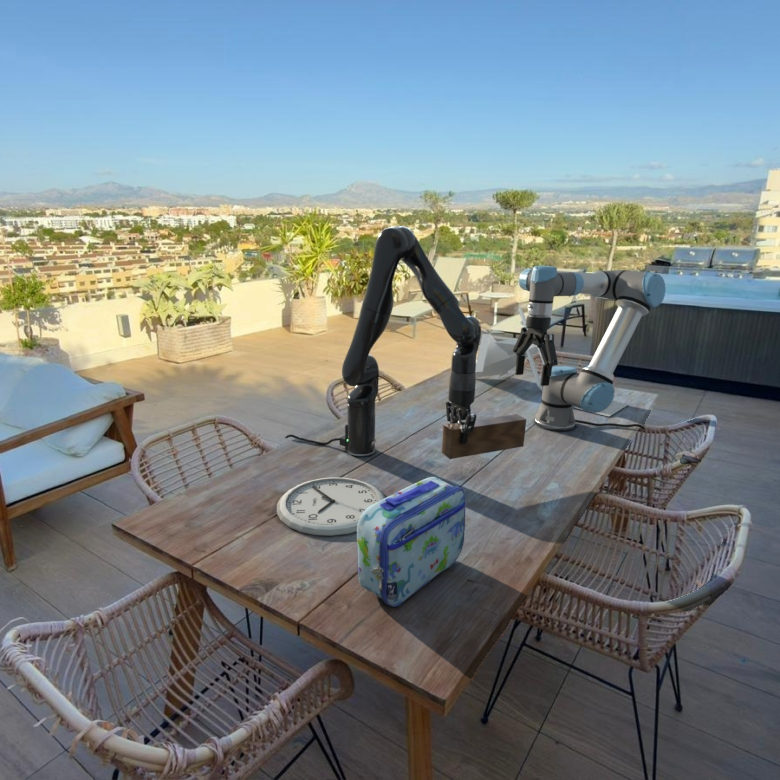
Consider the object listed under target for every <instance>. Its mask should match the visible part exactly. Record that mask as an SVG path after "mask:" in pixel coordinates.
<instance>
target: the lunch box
mask: <svg viewBox="0 0 780 780" xmlns="http://www.w3.org/2000/svg"><path fill="white" fill-rule="evenodd" d="M465 528H466V494H465V490H464V489H463V487H461V486H458V485H456V486H454V485H451V484H450V483H448V482H446V481H444V480H442V479H440V478H438V477H436V476H430V477H426V478H424V479H421V480H420V481H417V482H415V483H413V484H411V485H409V486H407V487H405V488H402V489H401V490H399V491H396V492H395V493H393V494H390V495H389V496H387V497H385V499H383V500H381V501H379V502H377V503H375V504H373V505H371V506H369V507H368V508H367V509H366V510H365V511H364V512H363V513H362V515H361V517H360V519H359V522H358V526H357V532H356V549H357V550H356V551H357V552H356V553H357V577H358V583H359V585H360V587H361V588H362V589H364V590H366V591H368V592H370V593H372V594H374V595H375V596H377V598H379V599H381V600H382V602H383V603H384V604H385V605H387V606H390V607H393V608H394V607H398V606H400V605H402V604H403V603H404V602H405V601H406V600H408V599H409V598H410V597H411V596H412V595H414V594H416V592H418V591H419V590H420V589H422V588H423V587H424V586H426V585H427V584H428V583H430V582H431V581H432V579H434V578H435V577H436V576H438V575H439V574H440V573H442V572H444V571H446V570H447V569H449V568H450V567H451V566H452V565H454V563H456V561H457V560H458V558H459V557H460V555H461V553H462V550H463V547H464V542H465V530H466V529H465Z"/></svg>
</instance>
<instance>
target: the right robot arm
mask: <svg viewBox="0 0 780 780" xmlns="http://www.w3.org/2000/svg"><path fill="white" fill-rule="evenodd" d="M665 282H666V281H665V279H664V277H663V276H662V275H661V274H659V273H657V272H651V271H640V270H639V271H638V270H628V269H613V270H611V269H610V270H595V271H593V272H584V271H583V272H581V271H569V270H558V268H557V267H556V266H551V265H535V266H533V268H525V269H523V270H522V271H521V273H520V274H519V277H518V286H519V287H520V288H521V289H522V290H524V291H527V292H529V295H528V304H527V311H526V312H527V315H526V327H524V326H522V327H521V328H520V333H519V336H518V337H517V339H516V340H517V342H516V344H515V346H514V349H513V352H515V353H516V355H517V358H516V366H515V376H523V375H524V372H525V371H524V370H525V361H526V359H525V356H522V355H525V352H526V351H527V350H528V348H529V347H530V346H531V344H534V345H537V347H538V348H539V349H540V352H541V355H542V358H543V360H544V363H545V364H544V365H543V364H542V371H541V379H540V382H541V386H542V392H541V402H540V405H539V407H538V410H537V411H536V413H535V416H534V424H535V425H536V426H537V427H539V428H542V429H544V430H549V431H556V432H567V431H572V430H574V429H575V428H576V423H577V424H584V425H588V426H593V427H620V428H634V427H638V428H640V429H641V430H646V428H645V426H643V424H642V425H641V424H639V423H633V424H632V423H630V424H623V423H614V422H613V423H612V422H604V423H594V422H590V421H587V420H580V419H576V418H575V417H576V416H575V413H574V407H578V408H581V409H583V410H582V411H584V410H585V411H584V412H588V411H590V412H589V413H592V412H593V414H596V413H598V412H601V411H603V410H605V409H606V408H607V407H608V406H609V405H610V404H611V402H612V401H614V398H615V392H616V389H615V387H614V385H613V384H614V379H613V374H614V372H615V370H616V368H617V366H618V364H619V363H620V360H621V358H622V356H623V354H624V352H625V351H626V348H627V346H628V344H629V342H630V340H631V339H632V336H633V334H634V333H635V331H636V329H637V327H638V325H639V322H640V320H641V319H642V317H644V316H646V315H649V312H650V311H651V308H656V307H659V306H660V305H661V304H662V303H663V301H664V299H665V296H666V283H665ZM580 294H582V295H590V296H591V297H593V298H602V299H607V300H611V301H613V302H615V304H616V306H617V308H616V311H615V313H614V314H613V317H612V319H611V320H610V322H609V325H608V326H607V328H606V330H605V333H604V334H603V336H602V338H601V340H600V343H599V344H598V346H597V349H596V350H595V352H594V354H593V356H592V358H591V360H590V362H589V364H588V365H587V366H584V367H583V368H581V371H580V372H579V371H578V369H577V367H574V366H567V365H559V362H558V361H559V360H558V357H557V351H556V346H555V345H556V344H555V334H554V333H548V330H549V329H551V323H552V318H551V316H552V315H553V307H554V298H555V297H573V296H574V297H575V296H577V295H580ZM517 348H518V349H517ZM578 372H579V373H578Z"/></svg>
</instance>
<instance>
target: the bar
mask: <svg viewBox="0 0 780 780" xmlns="http://www.w3.org/2000/svg"><path fill="white" fill-rule="evenodd" d="M526 426H527V418H525V417H523V416H521V415H519V414H517V413H516V414H509V415H502V416H494V417H488V418H481V419H476V421H475V425H474V429H473V432H468V440H467V443H466V444H460V432H461V431H460V425H459V424H458V423H452V424H450V423H446V424H443V425H442V445H441V453H442V454H443V455H444V456H445V457H446V458H448V459H449V460H453V459H459V458H465V457H471V456H477V455H482V454H489V453H493V452H499V451H505V450H511V449H516V448H517V449H518V448H523V447H524V445H525V435H526ZM463 427H465V424H464V425H463ZM469 428H470V426H469Z"/></svg>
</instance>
